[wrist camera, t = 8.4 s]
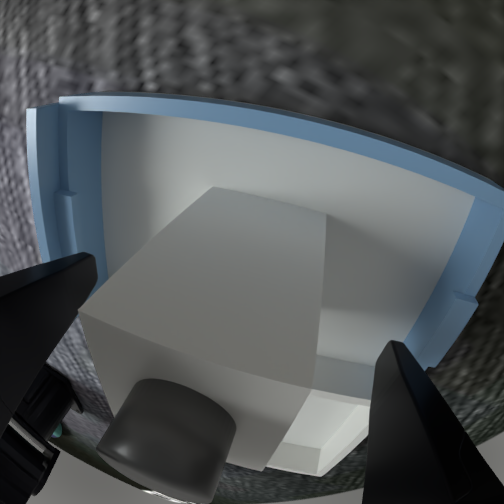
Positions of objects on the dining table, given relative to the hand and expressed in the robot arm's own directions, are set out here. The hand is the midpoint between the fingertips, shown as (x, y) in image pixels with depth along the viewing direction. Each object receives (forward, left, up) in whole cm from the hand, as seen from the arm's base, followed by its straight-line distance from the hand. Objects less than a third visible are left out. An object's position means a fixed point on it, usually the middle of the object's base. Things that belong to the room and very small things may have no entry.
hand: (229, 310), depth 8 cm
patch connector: (0, 0, -4) cm, 4 cm away
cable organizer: (-5, 0, -4) cm, 6 cm away
